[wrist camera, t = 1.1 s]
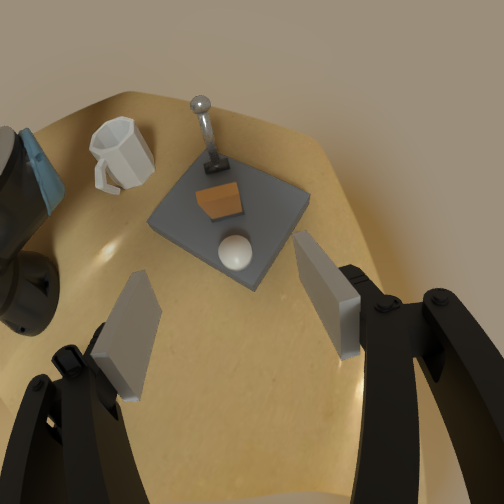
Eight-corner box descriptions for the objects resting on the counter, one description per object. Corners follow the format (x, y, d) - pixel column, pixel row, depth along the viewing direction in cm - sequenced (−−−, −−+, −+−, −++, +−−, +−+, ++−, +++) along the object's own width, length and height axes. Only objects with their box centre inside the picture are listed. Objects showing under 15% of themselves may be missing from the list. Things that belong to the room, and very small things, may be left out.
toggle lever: (207, 178, 41) (183, 103, 31) (205, 168, 42) (183, 96, 32) (231, 172, 41) (213, 96, 31) (228, 162, 42) (211, 89, 32)
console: (153, 230, 42) (146, 221, 39) (210, 159, 46) (206, 148, 43) (254, 292, 38) (252, 286, 35) (308, 205, 42) (310, 194, 39)
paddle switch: (212, 223, 39) (196, 207, 27) (209, 210, 39) (192, 189, 27) (244, 215, 39) (241, 196, 27) (241, 202, 39) (237, 178, 27)
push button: (224, 274, 36) (221, 270, 34) (218, 245, 37) (215, 239, 35) (256, 267, 36) (254, 261, 34) (248, 238, 37) (247, 231, 35)
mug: (124, 152, 49) (103, 118, 40) (162, 152, 48) (144, 114, 39) (99, 206, 45) (70, 175, 36) (138, 210, 44) (111, 176, 35)
